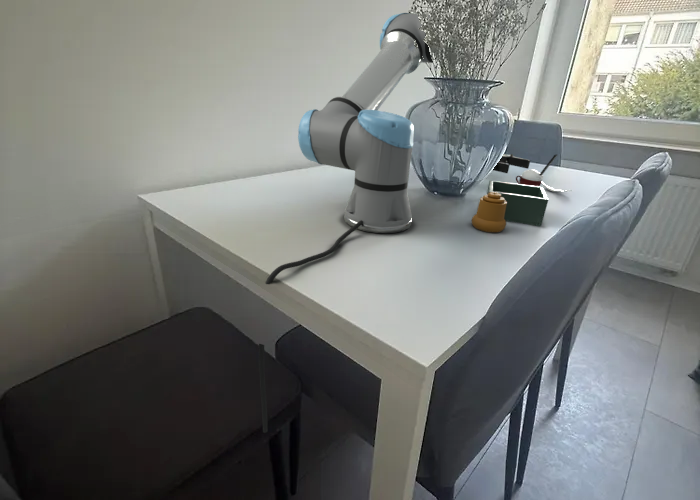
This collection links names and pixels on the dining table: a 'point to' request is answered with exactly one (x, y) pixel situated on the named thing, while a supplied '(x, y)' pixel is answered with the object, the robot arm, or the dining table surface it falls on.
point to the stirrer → (554, 189)
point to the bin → (521, 202)
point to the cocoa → (533, 176)
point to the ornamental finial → (490, 213)
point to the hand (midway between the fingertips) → (519, 166)
